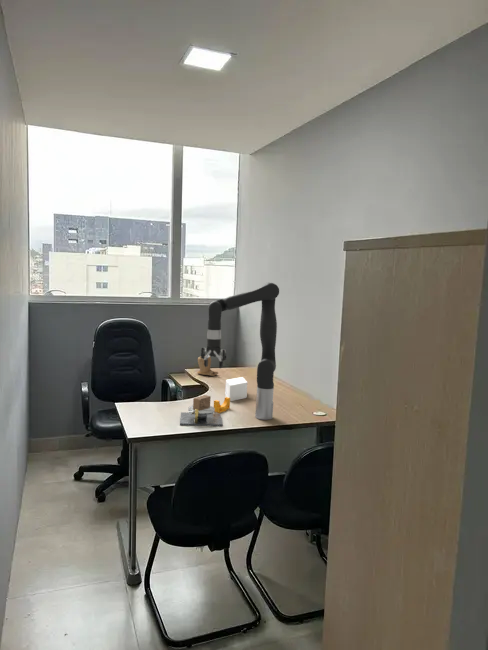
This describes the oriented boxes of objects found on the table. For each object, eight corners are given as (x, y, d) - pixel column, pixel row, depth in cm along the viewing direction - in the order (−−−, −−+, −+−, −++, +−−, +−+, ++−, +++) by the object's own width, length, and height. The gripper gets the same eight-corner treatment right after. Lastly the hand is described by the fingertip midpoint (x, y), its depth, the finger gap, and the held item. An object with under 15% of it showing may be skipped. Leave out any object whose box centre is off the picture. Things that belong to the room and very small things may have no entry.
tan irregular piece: (193, 374, 380) (194, 355, 379) (202, 372, 391) (203, 353, 389) (210, 377, 373) (211, 358, 371) (218, 375, 383) (219, 356, 382)
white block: (252, 393, 333) (252, 378, 332) (240, 403, 306) (241, 386, 304) (231, 390, 337) (232, 375, 336) (218, 400, 309) (219, 384, 308)
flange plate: (198, 405, 275) (199, 392, 274) (219, 410, 267) (220, 397, 267) (179, 412, 260) (180, 398, 260) (201, 417, 253) (201, 403, 252)
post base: (220, 415, 277) (221, 407, 276) (222, 426, 257) (222, 417, 256) (181, 414, 274) (181, 405, 274) (179, 425, 255) (180, 416, 254)
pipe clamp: (219, 413, 281) (219, 402, 280) (213, 411, 284) (213, 400, 283) (232, 409, 291) (232, 398, 290) (226, 407, 293) (226, 397, 293)
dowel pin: (197, 422, 258) (198, 409, 257) (197, 423, 256) (198, 410, 256) (194, 422, 258) (195, 409, 257) (194, 423, 256) (195, 409, 256)
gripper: (228, 338, 270) (228, 367, 271) (205, 336, 275) (204, 365, 276) (223, 339, 263) (222, 369, 264) (199, 337, 268) (198, 367, 269)
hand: (213, 367), depth 270 cm, fingers open, 8 cm apart
